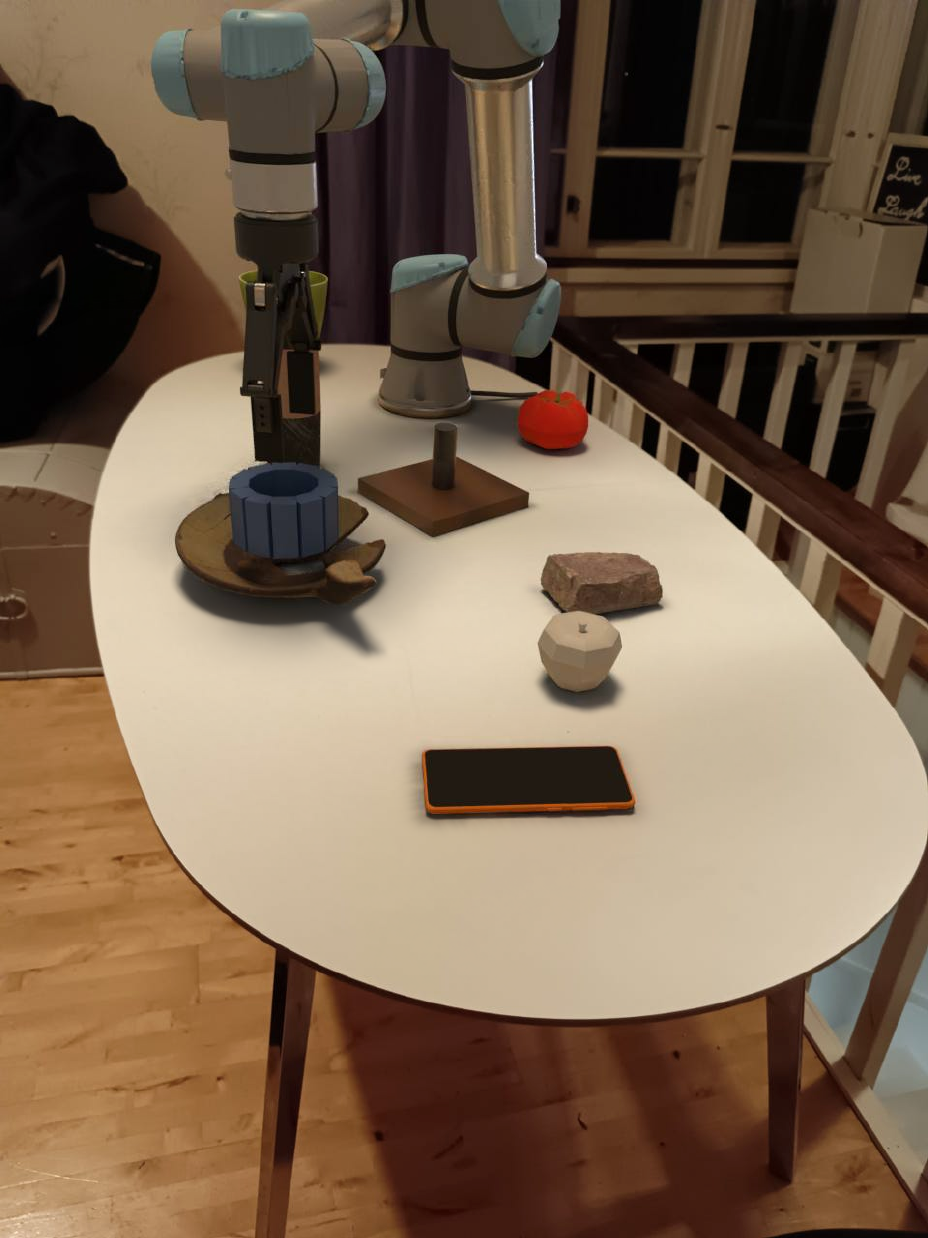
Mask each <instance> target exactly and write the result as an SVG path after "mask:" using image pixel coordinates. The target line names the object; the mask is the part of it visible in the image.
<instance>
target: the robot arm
mask: <svg viewBox="0 0 928 1238" xmlns="http://www.w3.org/2000/svg"><path fill="white" fill-rule="evenodd" d="M560 19H561V0H278V1H276V2H274V3H271V4H269V5H267V6H264V7H262V8H260V9H243V8H232V9H228V10H227V11H225V12H224V14H223V15H222V17H221V20H220V25H218V26H215V27H213V28H210V29H208V30H206V29H205V30H195V29H193V28H185V29H182V30H181V29H179V30H169V31H165V32H164V33H163V34H161V36H160V37H158V39H157V41H156V42H155V44H154V47H153V50H152V53H151V60H150V72H151V77H152V79H153V85H154V90H155V92H156V95H157V97H158V99H159V101H160V102H161V103H162V105H163V106H164V108H166V109H167V110H168V111H169V112H171V113H172V114H174V115H177V116H181V117H187V118H192V119H196V120H197V121H200V122H201V121H203V122H204V121H215V122H225V123H226V126H227V135H228V136H227V137H228V146H229V147H228V155H229V168H226V169H225V172H224V176H225V178H226V180H227V181H231V195H232V196H231V197H232V205H233V207H235V208H236V209H237V210H240V211H238V212H236V213H235V216H233V229H234V230H233V231H234V243H235V244H234V245H235V252H236V255H237V256H238V257H239V258H240V259H242V260H244V261H246V262H252V263H254V264H255V265H256V267H257V270H258V271H257V280H255V281H254V282H251V281H247V283H246V287H245V290H246V306H247V311H246V310H245V313H246V314H245V327H244V328H245V329H244V330H245V331H244V345H243V363H242V381H241V383H242V384H241V386H239V395H240V396H241V397H249V398H250V407H251V408H250V409H251V423H252V424H251V425H252V434H253V435H252V437H253V449H254V462H263V463H267V462H274V463H283V462H284V461H285V452H284V434H283V416H282V398H281V394H278V385H279V377H280V369H281V361H282V353H283V345H284V337H285V335H286V338H287V341H288V344H289V347H290V349H294V351H288V352H287V372H288V391H289V411H290V413H297V414H310V415H315V413H316V403H315V375H314V353H311V352H310V350H313V351H319V352H321V351H322V339H319V340H317V337H318V330H317V323H316V317H315V311H314V305H313V299H312V293H311V286H310V280H309V271H310V270H309V262H312V261H313V260H315V259H317V257H318V256H319V251H320V246H319V245H320V244H319V219H318V218H317V217H316V215H315V214H314V213H312V212H314V211H316V209H317V208H318V207H319V200H318V199H319V197H318V176H317V175H318V174H317V172H318V171H317V160H316V134H319V133H321V134H322V133H330V132H332V133H333V132H345V133H349V132H352V131H353V130H357V129H359V128H362V127H364V126H367V125H369V124H370V123H371V122H373V121H374V120H375V119H376V118H377V116H379V114H380V113H381V110H382V108H383V106H384V103H385V99H386V91H387V83H386V77H385V72H384V69H383V66H382V63H381V62H380V60H379V58H378V56H377V55H376V54H375V51H376V52H377V51H380V50H383V49H386V48H388V47H389V46H413V47H414V46H415V47H425V48H426V47H427V48H433V49H444V50H449V53H450V64H451V72H452V73H453V75H454V76H455V77H456V78H457V79H458V80H459V81H461V82H462V83H463V84H464V92H465V93H464V94H465V106H466V118H467V119H466V120H467V133H468V146H469V161H470V174H471V176H470V177H471V190H472V203H473V215H474V218H473V219H474V229H475V230H474V231H475V242H476V245H475V246H476V257H475V258H474V260H472V262H470V264H469V262H468V258H467V257H466V256H464V255H461V254H453V253H444V254H443V253H442V254H426V255H418V256H413V257H408V258H403V259H401V260H399V261H398V262H396V264H395V265H394V266H393V268H392V272H391V273H392V274H391V281H390V283H391V284H390V289H389V293H390V355H389V359H388V362H387V365H386V367H384V368H380V369H379V379H382V382H381V383H380V385H379V389H378V403H379V405H380V406H381V407H382V408H383V409H386V410H387V411H389V412H392V413H395V414H398V415H401V416H408V417H414V418H430V419H432V418H433V419H434V418H446V417H452V416H457V415H460V414H462V413H465V412H466V411H468V410H469V409H470V408H471V405H472V396H476V397H494V398H495V397H496V398H511V399H521V398H522V399H524V398H529V397H534V396H535V395H536V394H538V393H539V392H538V391H527V392H507V391H506V392H505V391H495V390H494V391H492V390H473V389H471V388H470V385H469V382H468V381H469V380H468V376H467V372H466V368H465V365H464V360H463V349H464V348H468V349H473V350H479V351H485V352H491V353H497V354H503V355H508V356H510V357H511V358H515V357H522V358H530V359H531V358H536V357H538V356H540V355H541V354H542V353H543V352H544V351H545V349H546V348H547V346H548V344H549V342H550V340H551V338H552V335H553V333H554V330H555V327H556V324H557V321H558V317H559V313H560V309H561V301H562V286H561V284H560V283H559V282H558V281H557V280H555V279H554V278H550V279H548V266H547V262H546V260H545V259H544V258H543V257H542V256H541V255H540V254H539V253H537V235H536V234H537V233H536V229H537V228H536V193H535V192H536V190H535V189H536V188H535V152H534V151H535V150H534V147H535V145H534V109H533V107H534V106H533V79H534V77H535V76H536V75H537V74H538V72H539V71H540V70H541V68H542V67H543V66H544V60H545V58H544V55H547V54H549V53H550V52H551V51H552V49H553V48H554V46H555V44H556V41H557V38H558V35H559V30H560V26H559V20H560ZM262 309H263V310H262ZM261 381H262V382H263V383H264V384H261Z"/></svg>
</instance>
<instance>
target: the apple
mask: <svg viewBox="0 0 928 1238" xmlns="http://www.w3.org/2000/svg"><path fill="white" fill-rule="evenodd" d="M537 647H538V652H539V656H540V657H539V658H540V661H541V663H542V665H543V667H544V669H545V671H546V673H547V675H549V677H550V678H551V680H552V681H553V682H554V684H556V686H557V687H559V688H560V689H564V690H567V691H571V692H574V693H579V692H584V691H585V692H586V691H590V690H593V689H595V688H597V687H599V685H600V684H601V683H602V682H603V681H604V680H606V678H607V676H608V674H609V673H610V671H611V669H612V668H613V665H614V663H615V662H616V660H617V658H618V656H619V654H620V652H621V650H622V648H623V644H622V637H621V633H620V631H619V630H618V629H617V628H616V626H614V625H613V624H612V623H611V622H610V621H609V620H608V619H607V618H606V617H605V616H601V615H598V614H596V615H594V614H590V613H586V612H582V611H574V612H568V613H567V612H563V613H557V614H554V615H552V616H551V618H550V620H549V621H548V622H547V624H546V625H545V627H544V628H543V630H542V632H541V634H540V637H539V639H538V641H537Z"/></svg>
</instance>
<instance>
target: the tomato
mask: <svg viewBox="0 0 928 1238" xmlns="http://www.w3.org/2000/svg"><path fill="white" fill-rule="evenodd" d="M537 393H538V394H536V395H535V396H534V397H527V398H526V399H525V400H523V402H522V403H521V405H520V407H519V410H518V413H517V419H516V421H517V429H518V431H519V434H520V436H521V437H522V438H523V439H524V440H525V441H526V442H527V443H530V444H531V445H536V446H538V447H542V448H543V449H545V450H547V451H548V450H557V449H563V450H567V449H571V448H573V447H576V446H577V445H579V444H580V443H581V442H582V441H583V440H584V438H585V437H586V435H587V433H588V429H589V414H588V411H587V408H586V407H585V406H584V404H583V402H582V401H581V400H580V399H579V398H578V397H577V396H576V394H575V393H572V392H569V391H566V390H565V391H563V392H562V391H559V392H557V391H555V390H553V389H549V390H548V389H544V390H542V391H540V392H537Z"/></svg>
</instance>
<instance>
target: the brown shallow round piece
mask: <svg viewBox="0 0 928 1238" xmlns="http://www.w3.org/2000/svg"><path fill="white" fill-rule="evenodd" d="M338 514H339V539H338V541H337V542H335V543H334V544H333V545H332V546H331V547H330V548H328V549H327V550H325V549H324V552H320V553H317V554H314V555H310V556H307V557H302V556H300V555H299V558H284V559H274V555H273V556H272V557H270V558H266V557H262V556H258V555H254V554H249V552H248V551H247V552H245V551H244V550H242V549H241V548H240V547H239V546H237V545H236V544H235V543H234V541H233V535H232V523H231V511H230V499H229V492H227V493H222V492H220V493H217V494H216V495H215V496H213V498H212V499H211V500H209V501H207V502H205V503H203V504H201V505H199V506H198V507H196V508H195V509H193V510H192V511H191V512H189V513H187V515H186V516H185V517H184V518H183V519H182V520H181V522H180V524H179V525H178V527H177V529H176V531H175V535H174V546H175V551H176V554H177V556H178V558H179V559H180V561H181V563H182V564H183V566H185V567H186V569H187V570H188V571H189V572H190V573H191V574H192V575H194V576H195V577H197V578H198V579H200V580H201V581H202V582H204V583H206V584H208V585H211V586H213V587H215V588H217V589H221V590H225V591H226V592H227V591H228V592H231V593H234V594H238V595H239V594H240V595H244V596H245V595H246V596H251V597H259V598H284V599H285V598H286V599H288V598H291V599H292V598H294V599H296V598H297V599H301V598H310V597H313V598H319V599H320V600H323V601H324V602H325V603H328V604H329V605H331V606H342V605H345V604H349V602H351V601H352V600H354V599H355V598H357V597H358V596H361V595H363V594H365V593H366V592H368V591H370V590H371V589H372V588H374V587H375V586H376V585H377V581H376V579H375V578H374V577H373V576H371V575H366V574H367V573H369V572H370V571H372V570H373V569H374V568H375V567H376V566H377V565H378V564H379V562H380V561H381V559H382V557H383V556H384V554H385V550H386V548H387V544H386V542H385V540H384V539H383V538H382V539H377V540H374V541H371V542H369V541H367V542H366V543H364V544H362V545H358V546H353V547H350V548H347V549H344V550H339V551H336V552H333V553H330V552H331V551H333V550H334V548H335V547H336V546H338V545H340V544H341V543H343V542H344V541H345V540H346V539H347V537H349V536H350V535H351V534H352V533H353V532H354V531H355V530H356V529H358V528H359V527H360V526H361V525H362V524H363V523H364V522H365V521H366V520H367V518H368V517H369V515H370V512H369V510H368V509H367V508H366V507H365V506H362V505H360V504H359V503H358V502H356V501H354V500H352V499H351V498H347V497H343V496H342V495H339V494H338ZM320 558H321V561H322V564H323V566H324V568H325V569H321V570H317V571H313V570H312V569H311V568H309V567H307V569H308V570H310V571H311V572H301V573H296V574H295V573H293V574H291V573H287V572H285V571H284V570H283V569H282V568H281V567H278V566H277V565H275V564H276V563H277V564H278V563H280V564H282V563H300V562H308V561H312V560H314V559H320Z"/></svg>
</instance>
